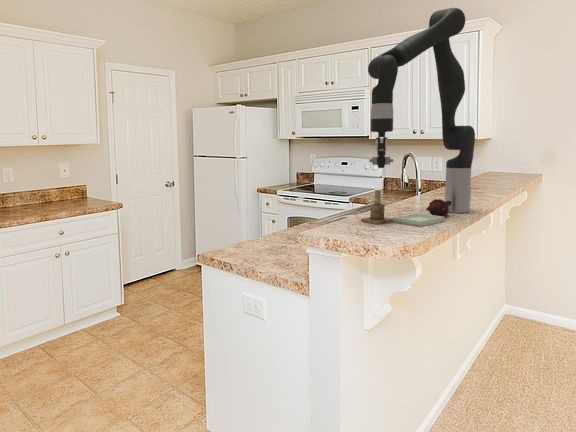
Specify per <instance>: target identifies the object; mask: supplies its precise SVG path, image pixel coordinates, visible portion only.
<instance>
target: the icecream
mask: <svg viewBox="0 0 576 432" xmlns="http://www.w3.org/2000/svg"><path fill="white" fill-rule="evenodd" d="M451 203H452V202H451V201H445V200H443V199H441V198H440V199H433V200H432V201H430V202H429V205H428V206H427V207H426V208H425V210H426V211H428V212H429V215H435V216H442V217H445V216H447V215H448V214H449V212H448V211H449V208H448V207H449V206H450V205H451Z"/></svg>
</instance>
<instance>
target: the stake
mask: <svg viewBox="0 0 576 432" xmlns="http://www.w3.org/2000/svg"><path fill="white" fill-rule="evenodd" d="M381 193H382V191H381V190H379V189H378V190H377V189H376V190H374V203H371V204H370V212H369V213H370V215H369V217H364V218H361V219H360V222H361V221H362V223H368V224H372V225H373V224H374V225H377V226H378V225H385V224H389V223H390V224H391V223H394V222H393V218H389V217H385V204H384V203H383V204H382V203H381V198H382V197H381V195H382V194H381Z"/></svg>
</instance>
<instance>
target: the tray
mask: <svg viewBox="0 0 576 432" xmlns="http://www.w3.org/2000/svg"><path fill="white" fill-rule="evenodd" d="M392 219H393V222H392V223H396V224H400V225H401V224H402V225H408V226H413V227H419V228H421V227H426V226H432V225H436V224H441V223H445V216H435V215H431V214H428V213H427V214H426V213H420V212H414V213H413V212H412V213H409V214H402V215H397V216H393V217H392Z"/></svg>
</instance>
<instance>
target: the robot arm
mask: <svg viewBox="0 0 576 432" xmlns="http://www.w3.org/2000/svg"><path fill="white" fill-rule="evenodd" d="M465 24H466V14H465V13H464V12H463V10H462V9H460V8H458V7H449V8H444V9H441V10H440V9H439V10H436V11H434V12H433V13H432V14H431V15H430V18H429V21H428V28H426V29H423V30H422V31H419V32H417V33H415V34H412V35H411V36H408V37H406V38H405V39H404V40H402V41H401V42H399V43H397V44H396V45H395V46H394V47H393V48H391V49H389V50H386V51H385V52H383V53H381V54H378V56H376V57H374V58H373V59H372V60H370V62H369V64H368V67H367V73H368V75H369V76H370V78H372V79H375V80H377V81H378V82H377V84H376V85H375V86H374V87H373V88H372V89H371V108H370V132H371V133H377V135H378V136H377V137H375V144H376V147H375V149H376V152H377V155H376V157H378V165H377V168H378V169H384V168H385V166H386V165H385V157H386V155H387V154H386V151H387V148H388V145H387V144H388V141H389V140H388V137H387V136H386V133H388V132H393V131H394V102H393V101H394V88H395V85H396V81H397V76H398V72H399V67H403V66H404V65H407V64H408V63H410V62H412V60H415V58H418V56H419V55H421V54H423V53H424V52H426V51H427V50H429V49H431V48H432V50H433V54H434V58H435V59H434V61H435V67H436V73H437V74H436V75H437V85H438V93H439V100H440V109H441V110H440V111H441V126H442V127H441V130H442V131H441V133H442V143H443V146H444V148H445V149H446V150H449V151H459V153H458V154H457V156H455V157H453V158H450V159H447V161H446V163H445V166H446V167H445V185H444V186H445V189H444V201H451V202H452V203H451V205H450V206H449V207H448V208H449V211H448V213H452V214H453V213H455V214H465V213H466V214H467V213H470V210H471V196H472V195H471V194H472V187H471V181H472V180H471V179H472V164H473V160H474V150H475V141H476V132H475V128H474V127H473V126H472V125H456V121H455V119H456V118H455V117H456V112H457V109H458V107H459V105H460V103H461V102H462V99H463V97H464V96H465V91H466V81H465V72H464V70H463V68H462V66H461V64H460V62H459V61H458V60H457V57H456V55H454V53H453V51H452V47H451V41H450V38H451V37H454V36H456V35H458V34H460V33H461V32H462V31H463V29H464V28H465Z"/></svg>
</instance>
